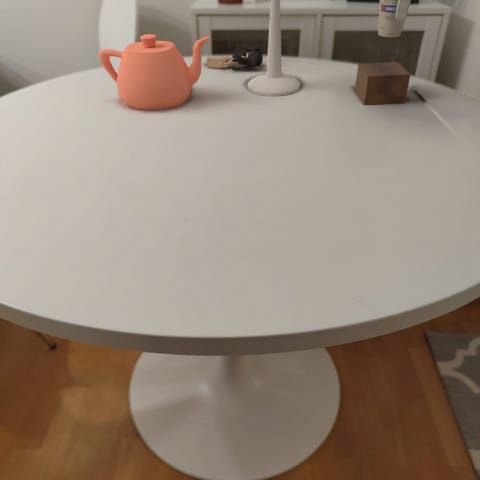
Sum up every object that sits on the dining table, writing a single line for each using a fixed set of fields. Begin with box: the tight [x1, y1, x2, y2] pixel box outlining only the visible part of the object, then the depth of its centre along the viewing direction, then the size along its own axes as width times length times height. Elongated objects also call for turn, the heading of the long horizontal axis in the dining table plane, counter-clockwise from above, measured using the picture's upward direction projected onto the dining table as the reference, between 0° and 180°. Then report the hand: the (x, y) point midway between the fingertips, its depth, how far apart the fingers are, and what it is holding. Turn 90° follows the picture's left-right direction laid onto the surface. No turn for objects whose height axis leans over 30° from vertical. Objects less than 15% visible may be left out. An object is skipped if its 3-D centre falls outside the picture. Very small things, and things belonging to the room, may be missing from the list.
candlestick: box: [247, 0, 301, 97], centre depth 101 cm, size 13×13×30 cm
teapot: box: [98, 33, 211, 111], centre depth 102 cm, size 25×17×13 cm
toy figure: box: [206, 43, 264, 72], centre depth 121 cm, size 7×6×15 cm
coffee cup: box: [377, 0, 411, 38], centre depth 92 cm, size 7×7×10 cm
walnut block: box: [354, 61, 412, 106], centre depth 102 cm, size 9×9×6 cm
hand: (392, 14), depth 93 cm, fingers closed on coffee cup, 7 cm apart
